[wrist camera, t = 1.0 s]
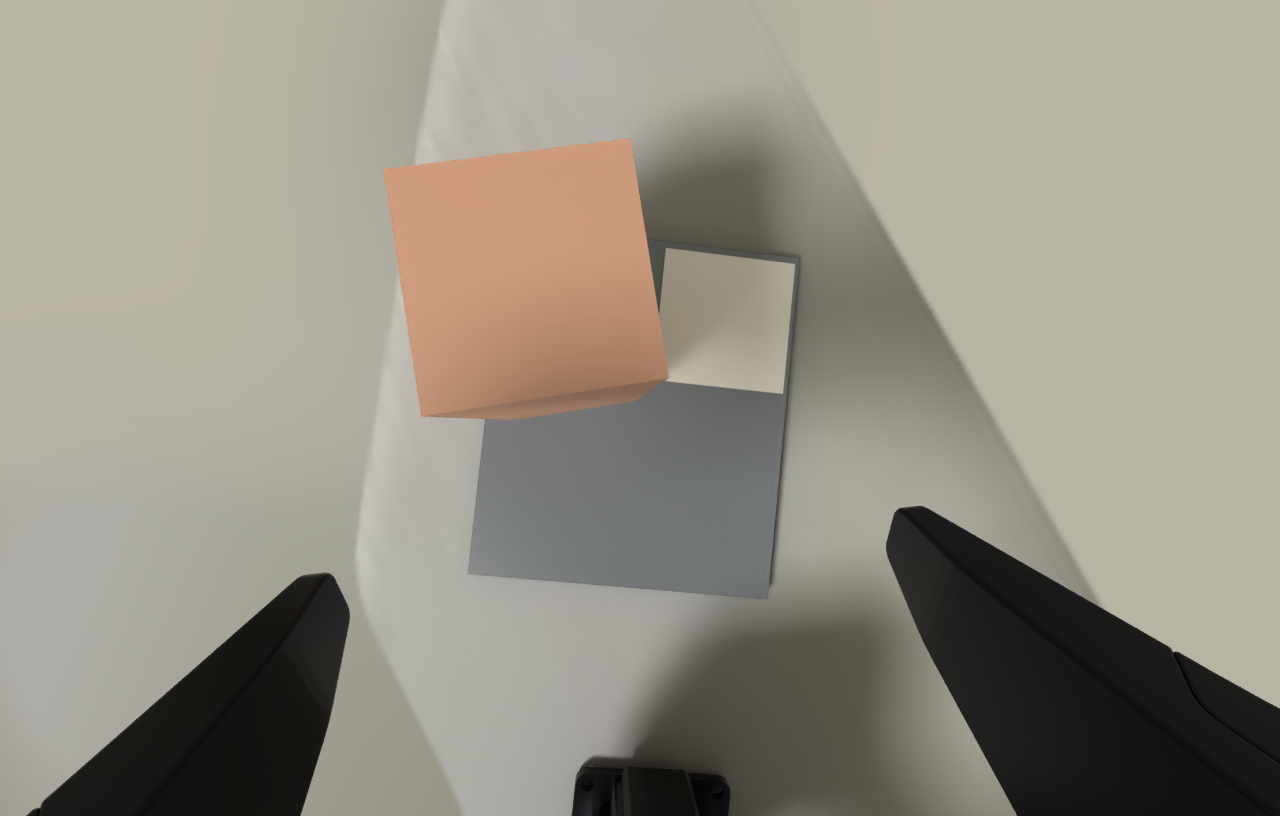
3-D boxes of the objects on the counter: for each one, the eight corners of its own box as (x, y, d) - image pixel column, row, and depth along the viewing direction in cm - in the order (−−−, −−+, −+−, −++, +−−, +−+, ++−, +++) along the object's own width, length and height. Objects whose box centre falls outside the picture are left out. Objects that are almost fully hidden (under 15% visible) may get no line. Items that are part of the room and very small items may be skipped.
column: (634, 401, 23) (669, 378, 11) (515, 419, 23) (421, 416, 11) (616, 283, 23) (630, 138, 11) (496, 300, 23) (383, 169, 11)
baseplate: (763, 594, 24) (768, 599, 23) (471, 570, 23) (467, 574, 23) (794, 262, 25) (800, 257, 24) (509, 227, 24) (506, 221, 23)
